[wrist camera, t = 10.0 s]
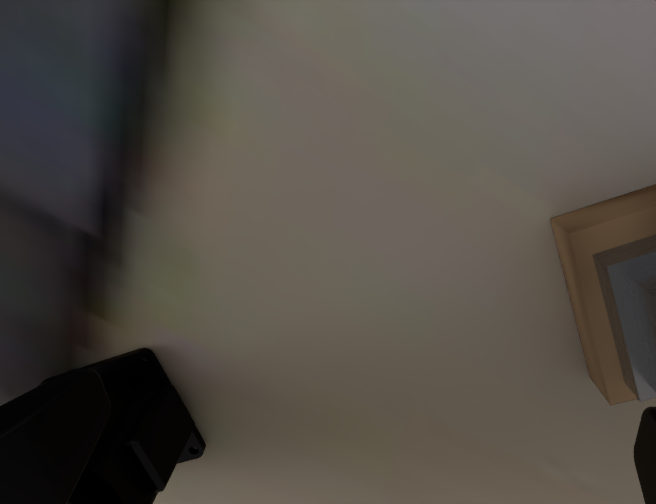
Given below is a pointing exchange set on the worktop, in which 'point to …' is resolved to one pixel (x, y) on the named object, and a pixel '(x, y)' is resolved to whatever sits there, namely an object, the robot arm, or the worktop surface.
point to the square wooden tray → (582, 280)
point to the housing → (632, 310)
